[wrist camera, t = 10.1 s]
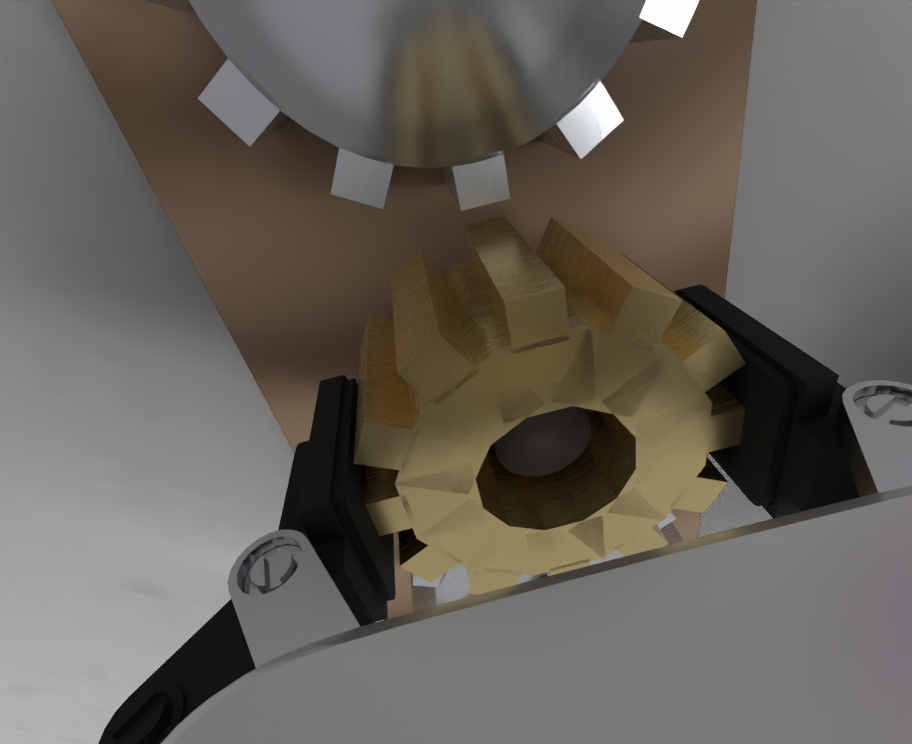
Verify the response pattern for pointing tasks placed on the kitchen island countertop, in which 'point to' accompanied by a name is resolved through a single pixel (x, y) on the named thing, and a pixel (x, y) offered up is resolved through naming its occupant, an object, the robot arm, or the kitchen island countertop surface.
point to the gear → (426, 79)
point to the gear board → (415, 203)
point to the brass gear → (537, 406)
